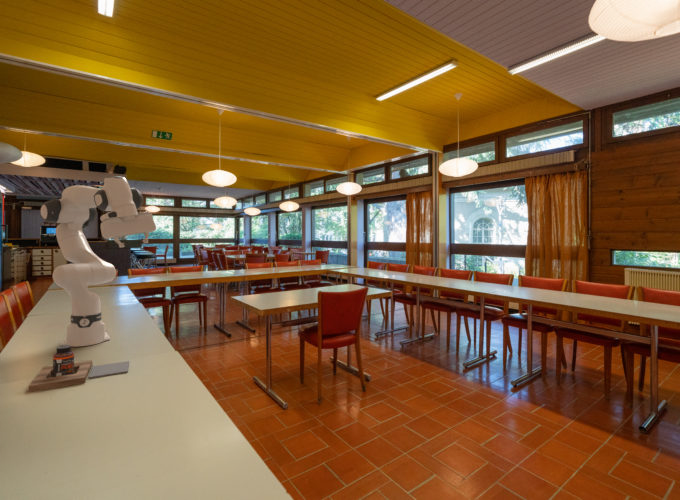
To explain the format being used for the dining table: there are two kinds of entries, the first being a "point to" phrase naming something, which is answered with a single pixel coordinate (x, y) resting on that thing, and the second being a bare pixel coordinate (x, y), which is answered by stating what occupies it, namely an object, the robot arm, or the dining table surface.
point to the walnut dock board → (60, 377)
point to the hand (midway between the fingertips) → (134, 245)
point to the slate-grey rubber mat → (109, 369)
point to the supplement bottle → (63, 361)
